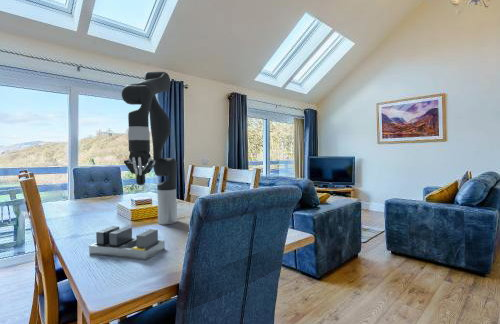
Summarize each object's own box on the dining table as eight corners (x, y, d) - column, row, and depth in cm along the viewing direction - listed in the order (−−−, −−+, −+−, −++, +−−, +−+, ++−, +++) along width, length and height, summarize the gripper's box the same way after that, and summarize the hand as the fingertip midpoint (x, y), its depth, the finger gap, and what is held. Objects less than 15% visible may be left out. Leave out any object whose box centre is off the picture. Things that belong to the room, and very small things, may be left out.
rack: (89, 254, 97) (88, 232, 97) (112, 244, 108) (111, 224, 107) (146, 260, 91) (145, 237, 91) (164, 248, 102) (164, 228, 102)
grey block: (150, 248, 101) (150, 229, 101) (158, 248, 100) (157, 229, 100) (136, 255, 93) (136, 235, 93) (144, 256, 93) (144, 236, 92)
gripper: (160, 139, 105) (161, 183, 106) (130, 139, 108) (132, 183, 109) (148, 138, 98) (150, 186, 99) (117, 139, 101) (119, 185, 102)
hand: (140, 184), depth 104 cm, fingers closed
